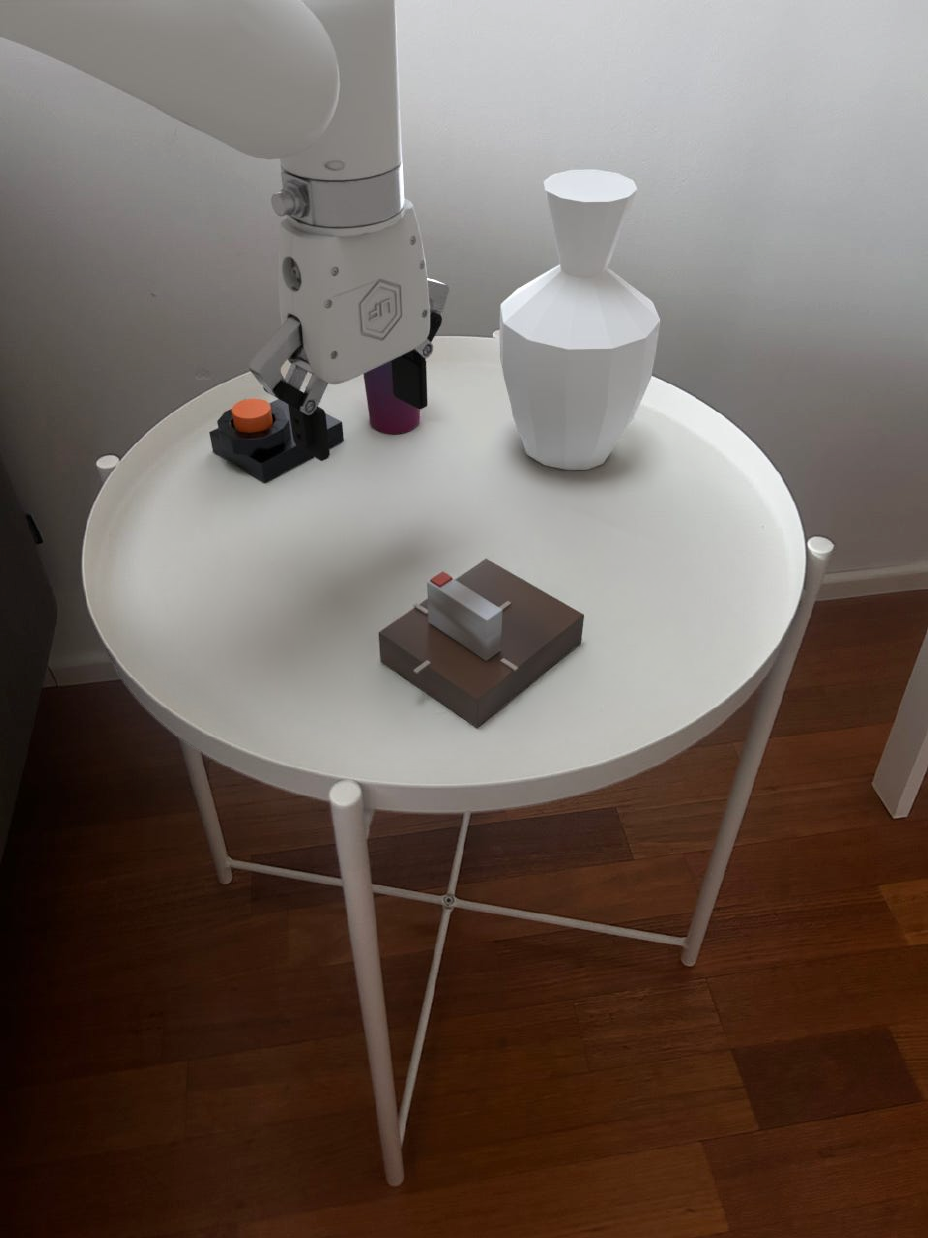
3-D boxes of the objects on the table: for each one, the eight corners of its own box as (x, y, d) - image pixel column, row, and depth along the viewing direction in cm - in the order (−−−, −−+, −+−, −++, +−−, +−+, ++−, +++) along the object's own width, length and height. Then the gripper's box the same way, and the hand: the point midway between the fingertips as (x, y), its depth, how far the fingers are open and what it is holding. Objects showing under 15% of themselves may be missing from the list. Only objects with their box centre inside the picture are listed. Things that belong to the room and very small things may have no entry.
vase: (465, 450, 98) (466, 186, 81) (555, 396, 106) (573, 144, 89) (581, 509, 91) (609, 233, 74) (669, 445, 99) (712, 183, 82)
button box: (258, 486, 94) (252, 450, 91) (206, 454, 98) (198, 418, 95) (344, 441, 100) (341, 405, 97) (291, 412, 104) (287, 377, 101)
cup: (438, 431, 101) (435, 287, 91) (373, 444, 99) (363, 299, 89) (415, 398, 106) (410, 258, 96) (352, 411, 104) (341, 269, 94)
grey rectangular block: (501, 650, 73) (503, 606, 70) (486, 661, 72) (487, 617, 69) (443, 612, 76) (442, 568, 73) (427, 622, 75) (426, 578, 73)
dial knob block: (467, 738, 71) (468, 707, 69) (368, 668, 76) (365, 637, 74) (582, 643, 78) (585, 613, 76) (484, 585, 83) (485, 555, 81)
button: (250, 438, 93) (247, 422, 92) (226, 424, 95) (223, 408, 94) (280, 423, 95) (278, 407, 94) (256, 410, 97) (254, 394, 96)
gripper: (271, 247, 57) (304, 495, 69) (481, 170, 66) (479, 401, 78) (194, 212, 61) (238, 453, 72) (403, 145, 70) (412, 368, 82)
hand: (363, 426), depth 75 cm, fingers open, 9 cm apart
